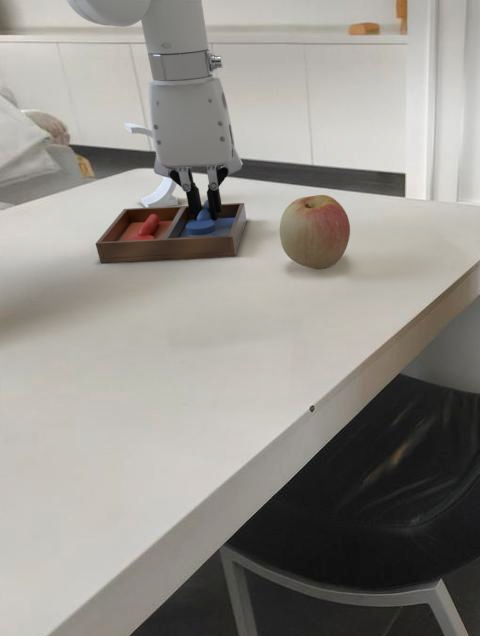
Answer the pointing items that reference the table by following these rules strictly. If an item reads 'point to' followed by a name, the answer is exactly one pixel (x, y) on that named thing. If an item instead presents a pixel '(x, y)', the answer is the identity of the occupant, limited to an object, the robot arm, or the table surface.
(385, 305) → the table surface
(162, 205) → the headphone stand
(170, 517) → the table surface
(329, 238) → the apple
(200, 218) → the blue spoon
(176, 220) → the tray
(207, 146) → the robot arm
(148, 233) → the red spoon
